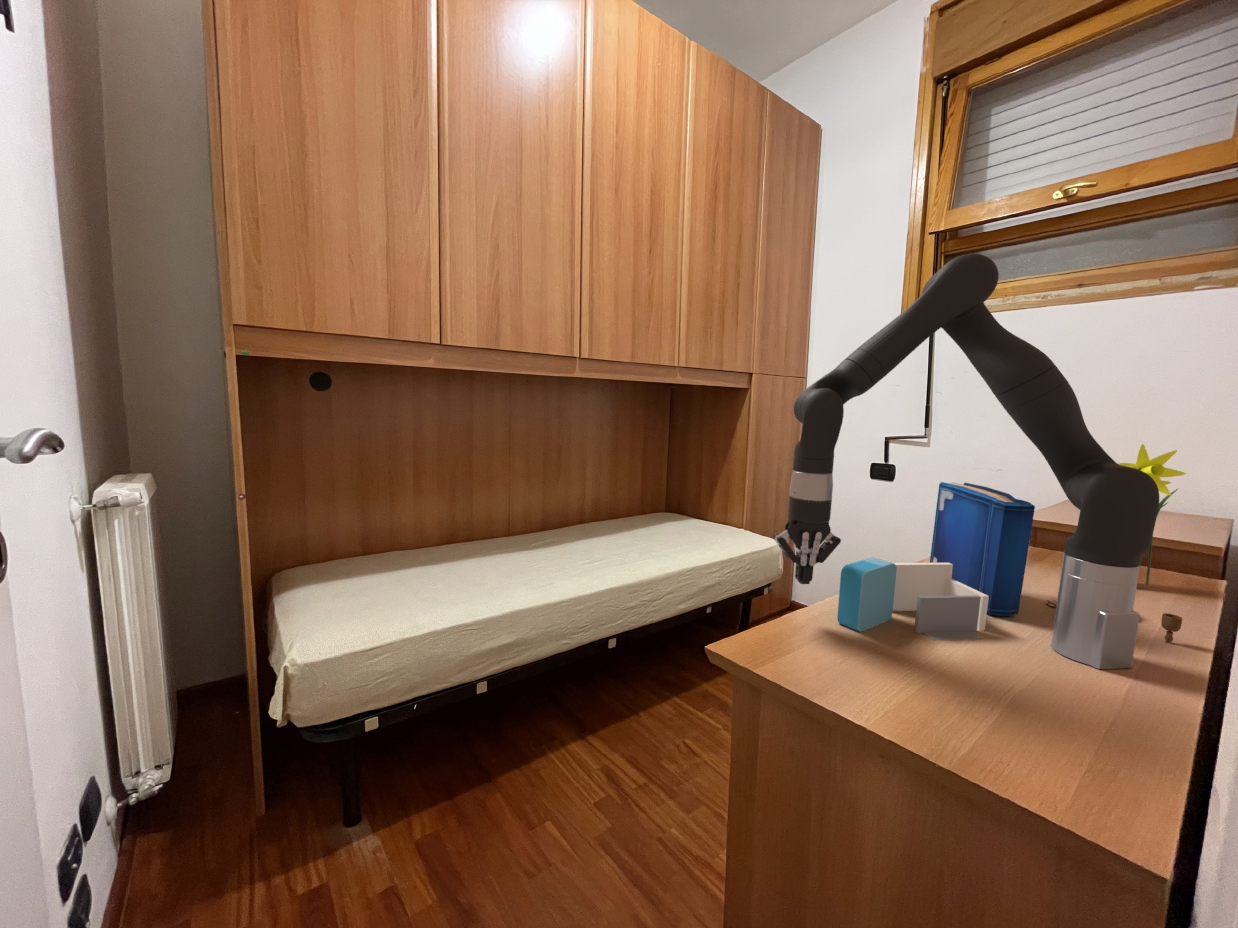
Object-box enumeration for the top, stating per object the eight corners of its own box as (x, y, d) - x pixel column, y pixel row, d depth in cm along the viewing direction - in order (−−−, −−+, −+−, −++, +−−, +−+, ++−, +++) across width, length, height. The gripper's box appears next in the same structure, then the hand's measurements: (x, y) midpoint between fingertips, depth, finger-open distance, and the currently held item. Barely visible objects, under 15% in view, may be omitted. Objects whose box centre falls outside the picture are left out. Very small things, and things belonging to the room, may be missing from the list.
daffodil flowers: (1082, 568, 132) (1101, 439, 127) (1163, 584, 121) (1187, 443, 117) (1078, 584, 120) (1099, 442, 116) (1167, 602, 110) (1194, 447, 105)
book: (1026, 620, 99) (1041, 499, 95) (990, 619, 99) (1005, 498, 96) (955, 581, 120) (966, 481, 117) (925, 581, 120) (936, 480, 117)
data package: (870, 611, 102) (875, 555, 100) (892, 620, 98) (897, 562, 96) (836, 625, 95) (840, 565, 94) (858, 634, 91) (863, 572, 90)
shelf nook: (999, 639, 90) (1006, 587, 89) (928, 641, 89) (933, 588, 88) (943, 607, 104) (948, 562, 103) (881, 608, 103) (885, 563, 102)
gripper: (784, 498, 88) (778, 590, 91) (854, 499, 89) (846, 590, 92) (769, 490, 96) (763, 575, 98) (833, 491, 97) (826, 575, 99)
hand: (803, 582), depth 95 cm, fingers closed
